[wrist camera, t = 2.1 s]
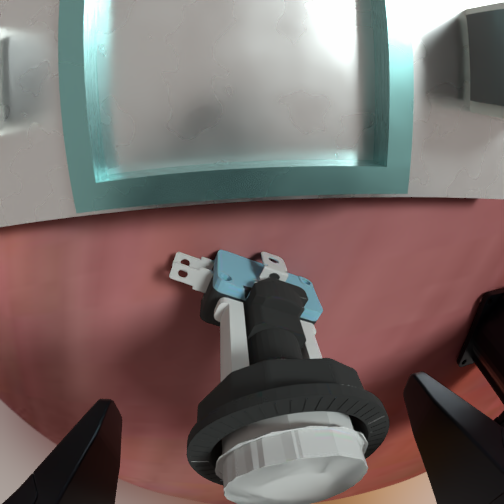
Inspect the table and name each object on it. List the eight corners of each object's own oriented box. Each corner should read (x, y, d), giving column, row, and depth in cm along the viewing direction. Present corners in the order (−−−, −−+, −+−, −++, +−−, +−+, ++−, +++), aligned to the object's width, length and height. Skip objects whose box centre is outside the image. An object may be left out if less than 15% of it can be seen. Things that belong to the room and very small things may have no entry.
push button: (160, 297, 15) (118, 496, 6) (196, 197, 13) (151, 398, 4) (283, 335, 17) (325, 515, 8) (334, 250, 15) (442, 432, 6)
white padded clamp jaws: (511, 122, 11) (580, 143, 7) (-43, 152, 9) (-110, 180, 5) (509, 29, 9) (576, 29, 5) (-48, 53, 7) (-114, 57, 3)
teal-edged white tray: (486, 190, 14) (518, 207, 12) (-11, 220, 13) (-41, 242, 10) (482, -29, 8) (513, -37, 6) (-25, -10, 7) (-55, -17, 4)
